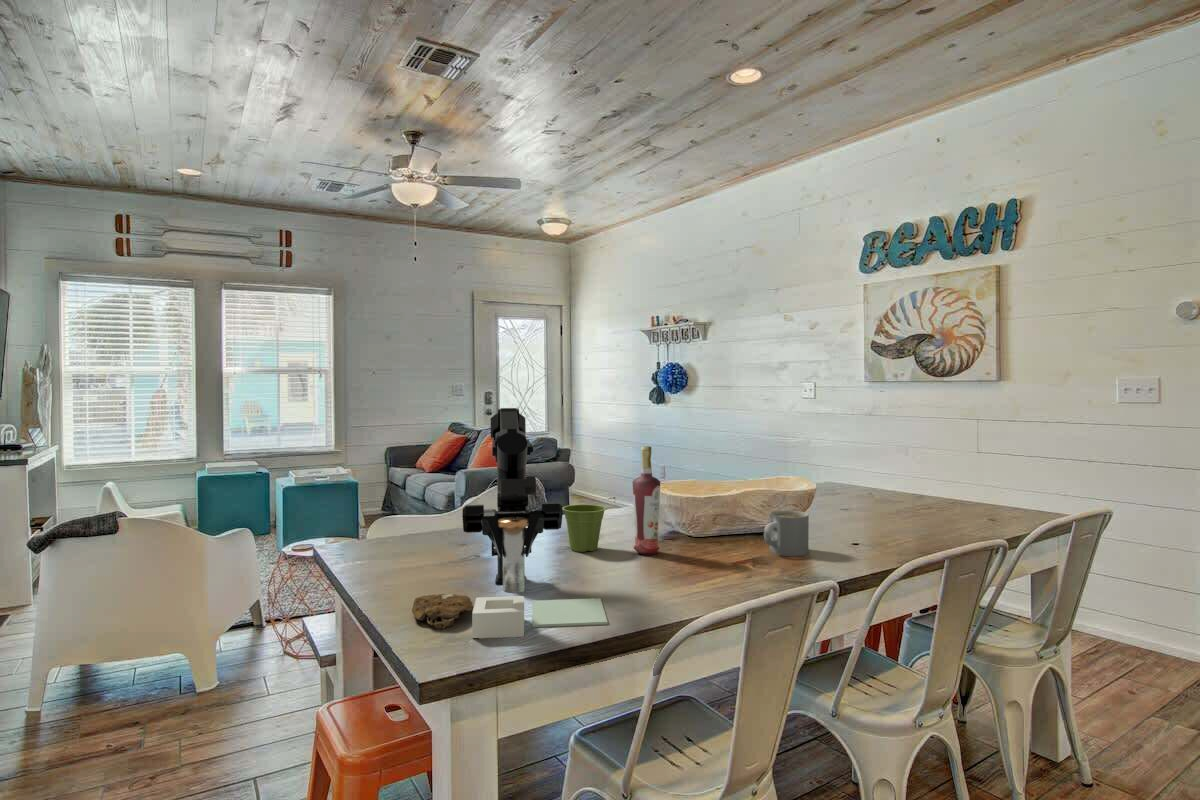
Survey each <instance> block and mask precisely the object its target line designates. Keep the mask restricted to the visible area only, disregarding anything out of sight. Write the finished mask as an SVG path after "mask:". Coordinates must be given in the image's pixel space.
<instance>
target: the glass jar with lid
mask: <svg viewBox="0 0 1200 800" xmlns="http://www.w3.org/2000/svg"><path fill="white" fill-rule="evenodd" d="M528 525H529V519H528V518H524V517H506V518H501V519H499V520H498V527H500V528H502V530H503V584H502V591H503V592H504V593H507V594H518V593H519V594H520V593H522V592H524V591H525V589H526V584H525V582H526V581H525V580H526V579H525V577H526V575H525V574H526V573H525V569H526V567H525V560H526V559H525V557H526V555H525V553H524V547H525V546H524V527H526V528H528Z"/></svg>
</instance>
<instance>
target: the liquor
mask: <svg viewBox="0 0 1200 800" xmlns="http://www.w3.org/2000/svg"><path fill="white" fill-rule="evenodd" d="M640 448H641V450H640V453H641V458H642V459H641V468H640V469H641V470H640V476H638V477H636V478H635V479H634V480H632V499H633V500H632V501H633V502H632V503H633V515H634V541H635V542H634V543H635V545H634V546H633V549H634V550H635V551H636V552H637V553H638V554H639V555H642V556H652V555H655V554H656V553H657V552H658V551H659V550H660V546H659V524H660V522H659V519H660V518H659V517H660V504H661V503H660V502H661V501H660V500H661V481H660V480H659V479H658V478H657V477H654V476H653V470H652V469H653V467H652V461H651V460H652V459H651V458H652V446H641V447H640Z"/></svg>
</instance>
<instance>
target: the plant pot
mask: <svg viewBox="0 0 1200 800" xmlns="http://www.w3.org/2000/svg"><path fill="white" fill-rule="evenodd" d="M562 509H563V512H564V513H563V514H564V517H565V519H566V528H567V532H568V539H569V540H568V542H569V546H570V547H569V549H571V550H572V551H573V552H580V553H585V552H587V551H589V552H594V551H596V550H598V546H599V542H600V541H599V540H600V532H601V527H602V521H603V518H604V514H605V511H606V510H607V507H605V506H604V505H598V504H587V503H586V504H585V503H584V504H582V503H581V504H570V505H565V506H562Z"/></svg>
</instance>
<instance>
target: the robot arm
mask: <svg viewBox="0 0 1200 800" xmlns="http://www.w3.org/2000/svg"><path fill="white" fill-rule="evenodd" d="M526 433H527V430H526V417H525V416H524V415H523V414H521V413H520V409H519V408H517V407H500V408H499V409H498V408H497V412H496V413H495V414H494V415H493V416H492V417H490V439H493V440H492V441H491V442H492V445H491V447H492V450H491V451H492V455H491V456H492V458H493V459H494V458H495V462H496V463H497V470H496V471H497V473H496V474H497V475H496V476H497V479H496V480H497V481H496V483H497V484H496V485H497V496H496V498H497V501H496V502H497V503H496V504H497V507H496V508H497V510H496V509H494V508H491V509H490V508H489V509H488V508H486V509H485V505H484V504H466V505H464V507H463V508H462V513H461V514H462V527H463V528H462V529H463V532H465V533H467V534H468V533H469V534H470V533H471V534H472V533H473V534H474V533H481V534H482V535H483V536H487V537H488V538H489V540H490V541H491V557H495V556H497V574H496V575H495V581H494V582H495V585H503V530H502V528H500V527H498V520H499V519H501V518H506V517H524V518H528V519H529V525H528V526H527V527H524V553H525V557H526V558H528V557H529V555H530V554H531V553H532V546H533V543H534V541H535V539H536V538H537V536H538V534H542V533H544V530H545V531H550V530H551V531H552V530H560V529H561V528H562V522H563V516H564V515H563V514H564V513H563V512H564V510H563V509H562V508H563V505H562V504H561V503H560V502H559V501H558V502H553V501H552V502H541V503H540V505H541V506H540V510H539V509H538V510H530V509H529V508H528V507H529V496H530V495H531V496H534V495H536V494H537V479H536V477H537V476H536V475H533V476H531V475H529V476H527V471H526V469H527V463H528V461H527V459H528V458H529V457H530V456H531V453H534V446H533V445H532V444H531V441H530V439H527V436H526Z"/></svg>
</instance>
